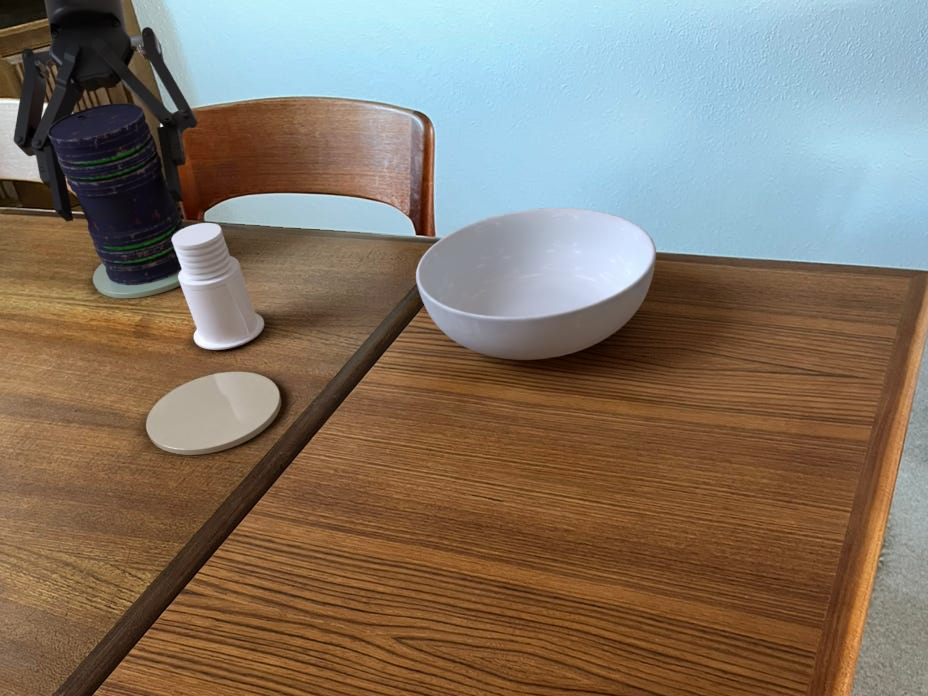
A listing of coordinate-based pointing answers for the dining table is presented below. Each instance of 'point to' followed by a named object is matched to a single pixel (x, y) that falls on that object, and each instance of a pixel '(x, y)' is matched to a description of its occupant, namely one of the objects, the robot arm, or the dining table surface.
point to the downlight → (214, 289)
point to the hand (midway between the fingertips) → (120, 206)
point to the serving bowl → (537, 281)
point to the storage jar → (120, 190)
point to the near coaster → (213, 413)
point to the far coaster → (131, 286)
